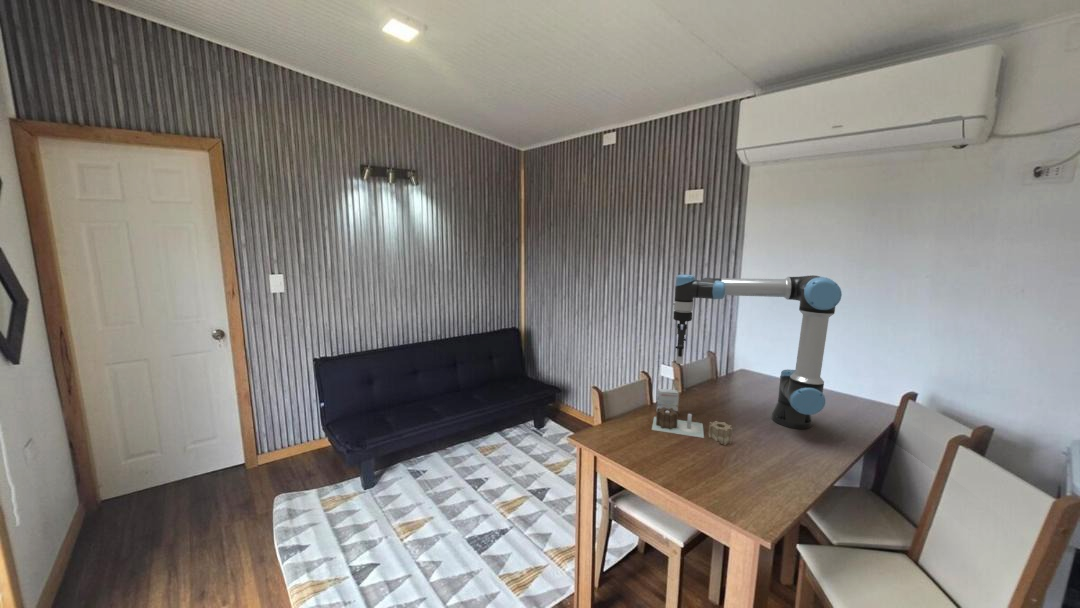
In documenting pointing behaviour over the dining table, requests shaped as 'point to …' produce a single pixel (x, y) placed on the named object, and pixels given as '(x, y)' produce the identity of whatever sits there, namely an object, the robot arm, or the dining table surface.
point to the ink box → (668, 399)
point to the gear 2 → (720, 432)
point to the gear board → (682, 427)
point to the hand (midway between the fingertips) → (679, 359)
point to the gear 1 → (667, 418)
